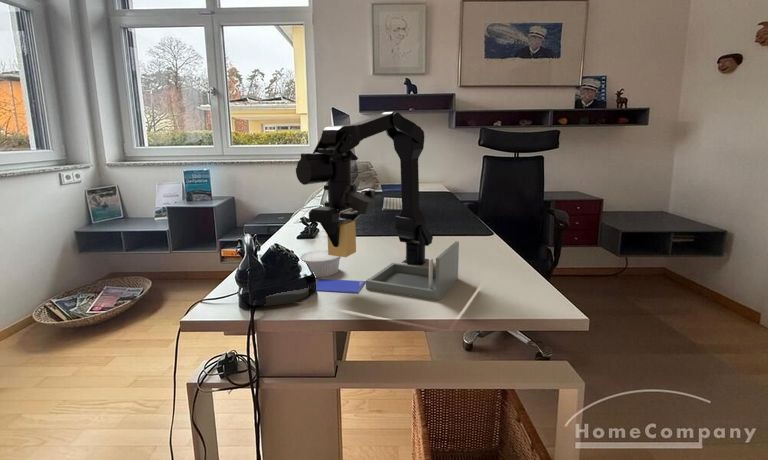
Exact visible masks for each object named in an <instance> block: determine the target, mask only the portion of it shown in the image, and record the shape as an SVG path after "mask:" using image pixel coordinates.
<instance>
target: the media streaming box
mask: <svg viewBox="0 0 768 460" xmlns="http://www.w3.org/2000/svg"><path fill="white" fill-rule="evenodd" d="M309 287H310V286H308V288H304V289H300V290H293V291H287V292H281V293H276V294H273V295H269V296H266V297H265V298H266V304H264V306H263V307H268V306H276V305H285V304H293V303H299V302H301V300H302V299H305V298H306V297H308V296H309V295H310V291H309V289H310V288H309Z"/></svg>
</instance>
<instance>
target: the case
mask: <svg viewBox="0 0 768 460" xmlns="http://www.w3.org/2000/svg"><path fill="white" fill-rule="evenodd" d="M459 249H460V242H459V240H458V241H454V242H453V243H452V244H450V246H448V247H447V248H446V249H445V250H444V251H443V252H441V253H440V254H439V255H438V256H437V257H436V258H435V267H434V258H428V259H429V261H428V267H427V266H423V265H413V264H406V263H397V262H391V263H390V264H389V265H387V266H386V267H384V268H383V269H381V270H380V271H378V272H376V273H375V274H374V275H372V276H371V277H369V278H367V279H366V280H365V281H366V282H365V289H366V290H371V291H377V292H383V293H384V292H385V293H390V294H396V295H397V294H398V295H403V296H409V297H415V298H421V299H428V300H431V301H432V300H433V301H440V299H441V298H442V297H443V296H444V295H445V294H446V293H447V291H449V289H450V288H451V287H452V286H453V285H454V284H455V283H456V282H457V280H458V279H459V259H460V258H459V256H460V255H459V251H460V250H459Z"/></svg>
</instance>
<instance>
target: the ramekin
mask: <svg viewBox="0 0 768 460" xmlns="http://www.w3.org/2000/svg"><path fill="white" fill-rule="evenodd" d="M299 258H300V259H301V260H302V261H304V262H306V263H307V264H308V265H309V267H310V268H311V269H312V271H313V272H314V274H315V276H316V278H315V279H322V277H329V276H333V275H335V274H337V273H338V272H339V266H340V260H341V258H342V257H340V256H332V255H328V249H323V250H322V249H321V250H320V249H319V250H311V251H307V252H304V253H302V254H300V256H299ZM303 259H304V260H303Z"/></svg>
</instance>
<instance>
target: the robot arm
mask: <svg viewBox="0 0 768 460" xmlns="http://www.w3.org/2000/svg"><path fill="white" fill-rule="evenodd" d="M383 132H385V133H386V136H388V137H389V139H391V140H392V143H393V146H394V148H393V149H394V151H395V153H396V154H397V156H398V158H399V160H400V161H399V162H400V163H399V164H400V185H401V186H400V191H401V193H400V194H401V195H400V196H401V210H400V213H399V215H395V217H394V222H395V223H394V224H395V227H394V230H396V234H397V236H398V239H399V242H400V243H404V244H405V259H404V260H403V261H402V262H401V264H406V265H414V266H423V265H424V264H426V263H427V262H428V263H429V259H430V258H426V247H428V246H430V245H431V244H432V242H433V238H434V236H433V235H432V233H431V232H430V231H429V230H428V229H427V224H426V219H425V216H424V214H423V213H422V211H421V209H420V188H419V187H420V185H419V184H420V183H419V179H420V178H419V158H420V156H421V155H422V152H423V150H424V146H425V131H424V130H423V129H422V127H421V126H419V125H418V124H416V123H415V122H414V121H412V120H410V119H408V118H406V117H404V116H403V115H402V114H401V113H400V112H398V111H384V112H382V113H380V114H379V115H378V114H377V115H375V116H372V117H370V118H366V119H364V120H361V121H358V122H354V123H352V124H343V125H341V124H339V125H331V126H326V127H324V128H323V129H322V133H321V137H320V139H319V141H318V143H316V145H315V148H314V150H313V151H312V153H309V152H308V153H306V152H305V153H301V154H300V159H299V160H298V162H297V164H296V168H295V175H296V178H297V180H298V181H299V182H300V184H302V185H304V186H305V185H313V184H315V185H316V184H323V183H326V184H325V185H323V190H324V191H327V201H325V202H324V206H317V207H315V208H311V209H310V210H309V212H308V222H312V223H318V224H319V223H320V225H321V227H322V228H323V230H324V232H325V233H326V235H328V237H329V239H330V240H331V242H332V244H333V246H334V247H338V245H339V232H340V225H341V224H342V223H343V222H344V220H340V218H342V219H351V220H354V221H355V222H356V220H358V219H359V217H360V216H362V215H367V214H368V213H371V212H372V210H373V207H374V206H375V205H377V201H376V200H377V197H376V191H373V190H371V189H369V190H366V191H365V192H363V191H362V192H360V191H358V190H357V185H356V183H352V161H358V159H359V157H358V156H357V155H356V154H354V152H353V151H352V150H353V149H355V148H356V147H357V146H359V145H360V143H361V141H364V140H366V139H367V138H371V137H373V136H376V135H377V134H380V133H383Z"/></svg>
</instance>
